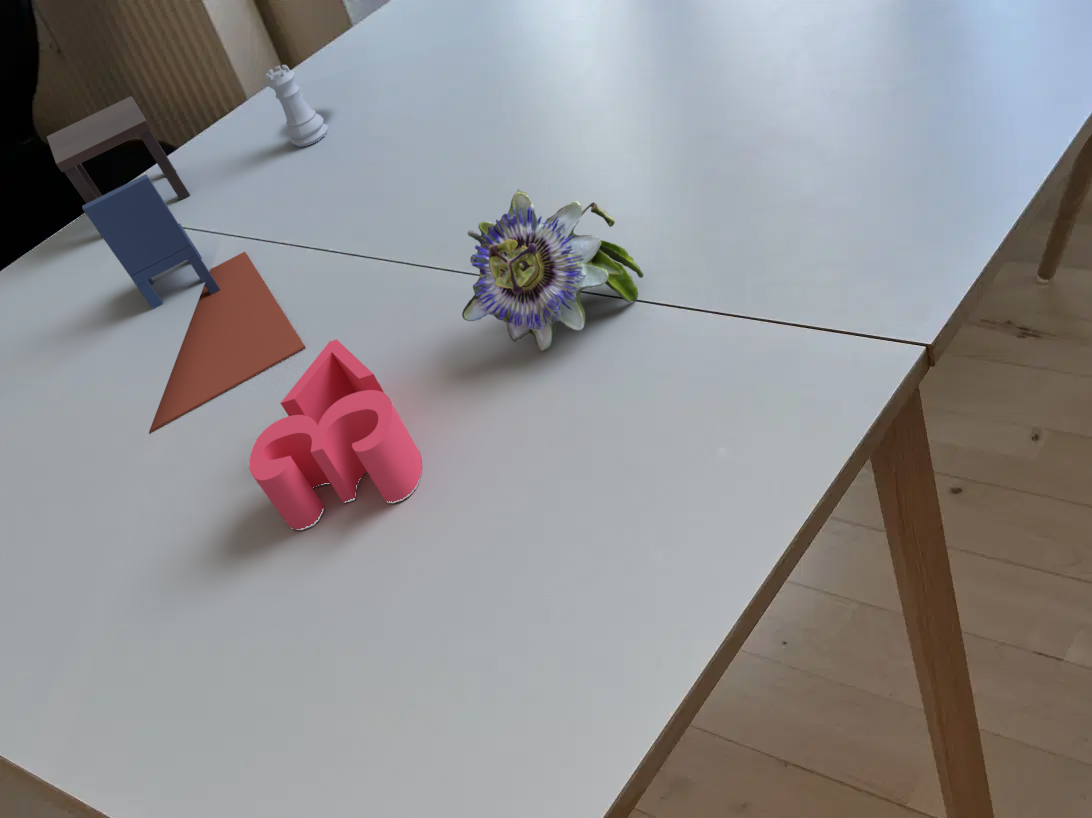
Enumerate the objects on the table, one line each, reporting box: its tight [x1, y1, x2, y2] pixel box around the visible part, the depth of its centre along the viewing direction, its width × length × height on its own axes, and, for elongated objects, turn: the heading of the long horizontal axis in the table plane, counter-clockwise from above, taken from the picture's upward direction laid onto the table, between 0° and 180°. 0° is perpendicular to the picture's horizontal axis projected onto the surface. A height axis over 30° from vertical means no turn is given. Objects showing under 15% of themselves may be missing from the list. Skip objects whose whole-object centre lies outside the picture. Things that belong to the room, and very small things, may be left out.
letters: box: [249, 339, 423, 530], centre depth 78 cm, size 14×10×5 cm
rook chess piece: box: [265, 64, 329, 148], centre depth 121 cm, size 4×4×8 cm
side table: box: [46, 95, 191, 204], centre depth 121 cm, size 10×10×9 cm
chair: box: [81, 174, 220, 310], centre depth 100 cm, size 6×6×12 cm
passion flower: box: [461, 189, 644, 352], centre depth 83 cm, size 11×11×12 cm
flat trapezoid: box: [148, 251, 307, 433], centre depth 98 cm, size 22×14×1 cm, turn 30°
